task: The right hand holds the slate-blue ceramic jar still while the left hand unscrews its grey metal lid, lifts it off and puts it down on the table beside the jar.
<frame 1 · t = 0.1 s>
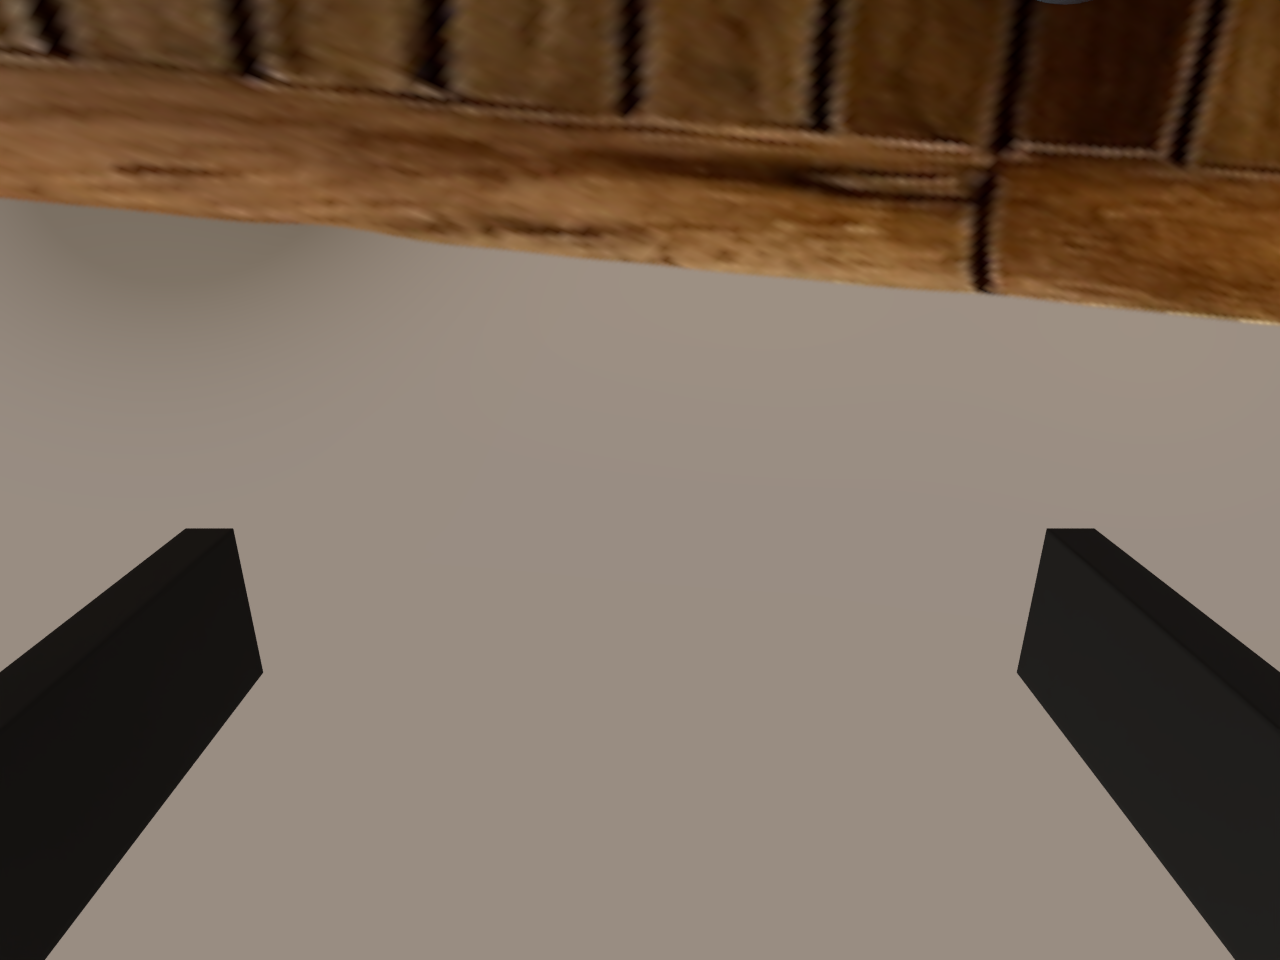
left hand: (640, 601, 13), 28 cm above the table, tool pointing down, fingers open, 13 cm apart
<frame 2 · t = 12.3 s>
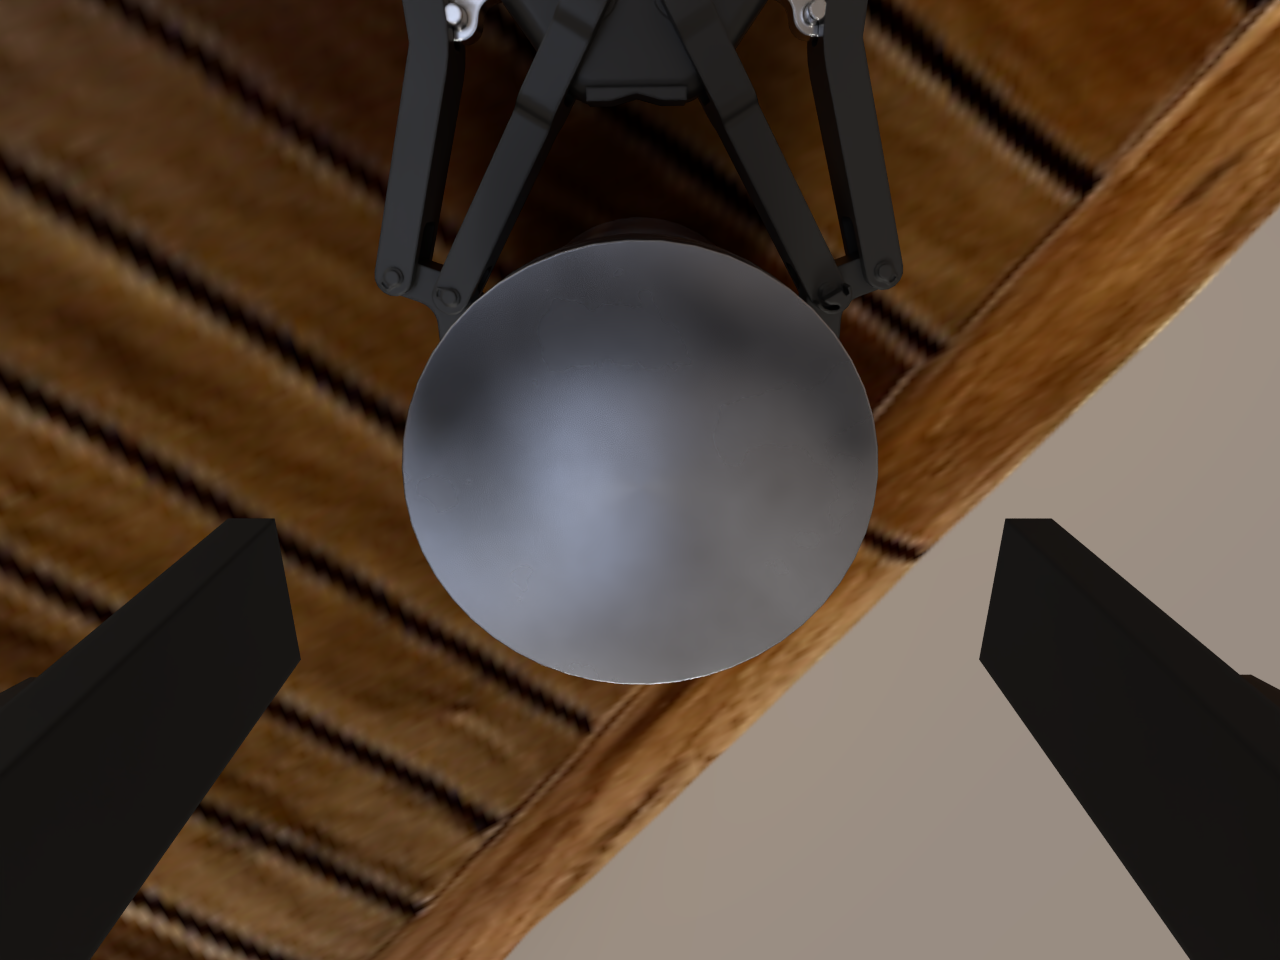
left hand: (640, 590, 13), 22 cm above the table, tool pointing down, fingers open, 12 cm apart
lid: (640, 481, 18), point 17 cm above the table, screwed on, not yet turned
jar: (640, 337, 34), on the table, touching right hand
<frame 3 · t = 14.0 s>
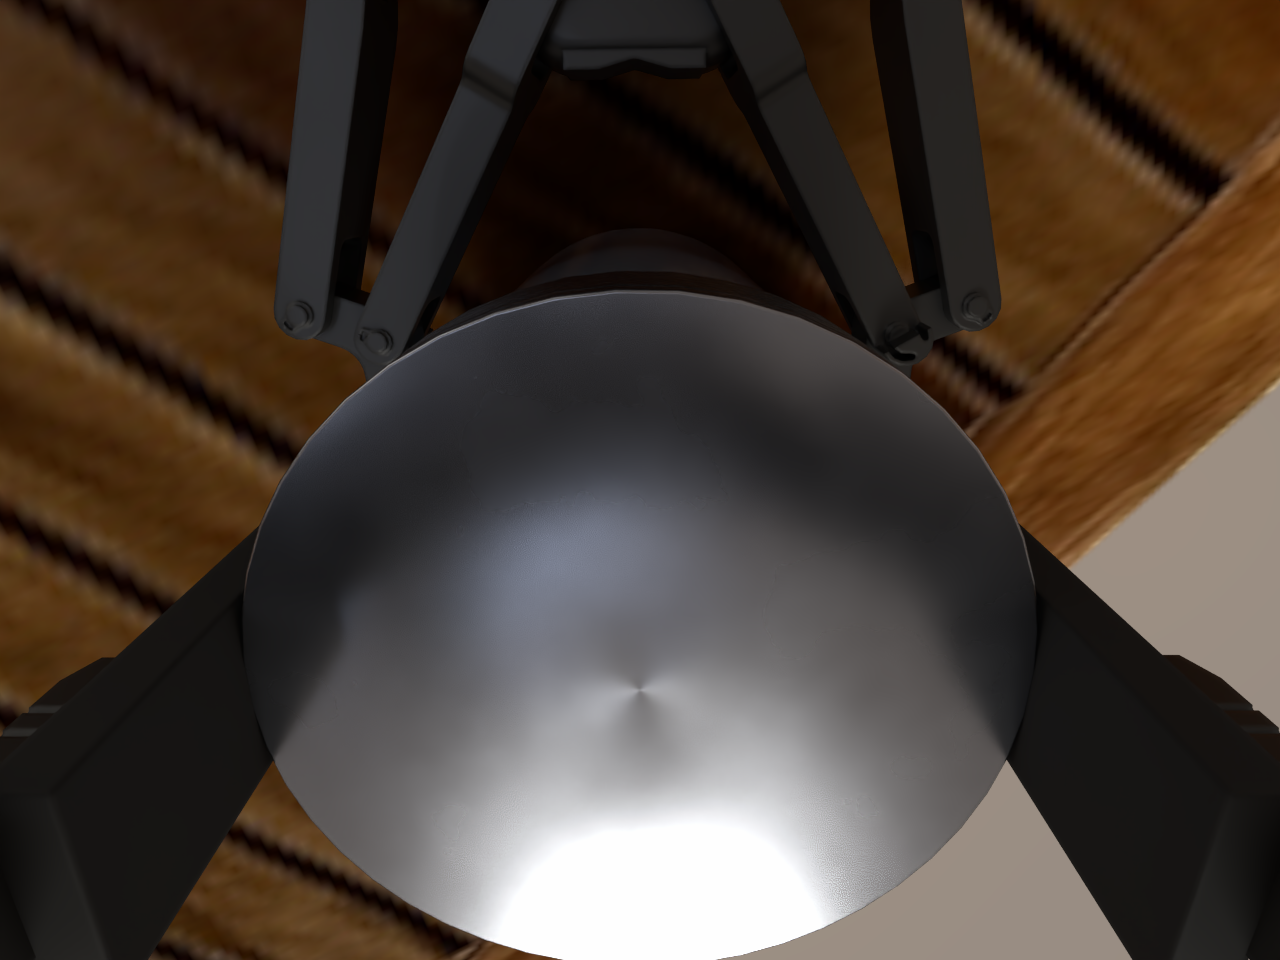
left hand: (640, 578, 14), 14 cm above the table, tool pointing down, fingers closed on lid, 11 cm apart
lid: (639, 675, 11), point 17 cm above the table, screwed on, not yet turned, touching left hand
jar: (639, 378, 27), on the table, touching right hand
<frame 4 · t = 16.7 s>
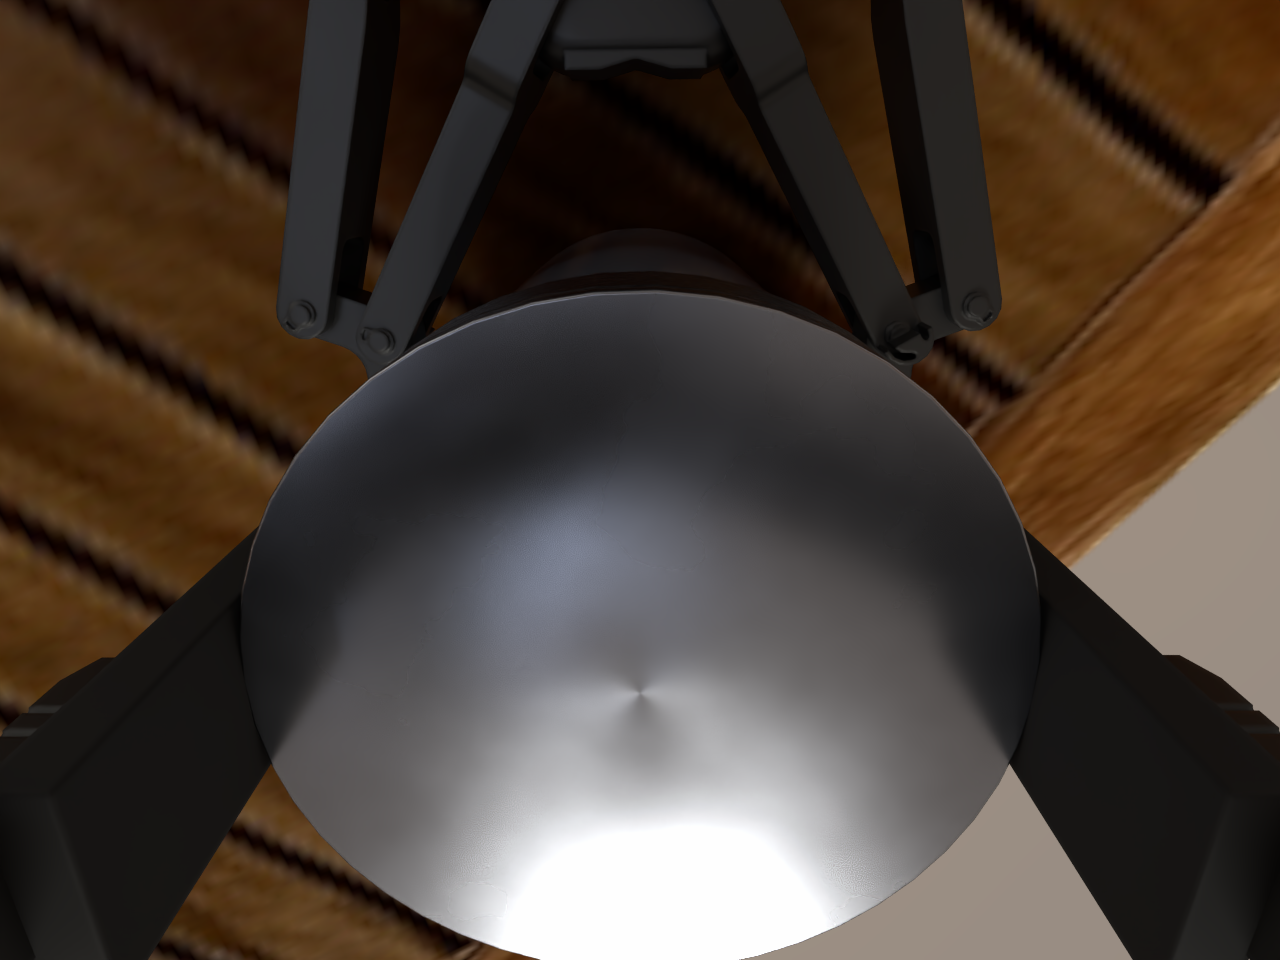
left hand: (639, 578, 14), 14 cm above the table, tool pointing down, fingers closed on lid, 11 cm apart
lid: (640, 677, 11), point 17 cm above the table, turned 55° so far, risen 0.1 cm, still on its thread, touching left hand
jar: (640, 377, 27), on the table, touching right hand
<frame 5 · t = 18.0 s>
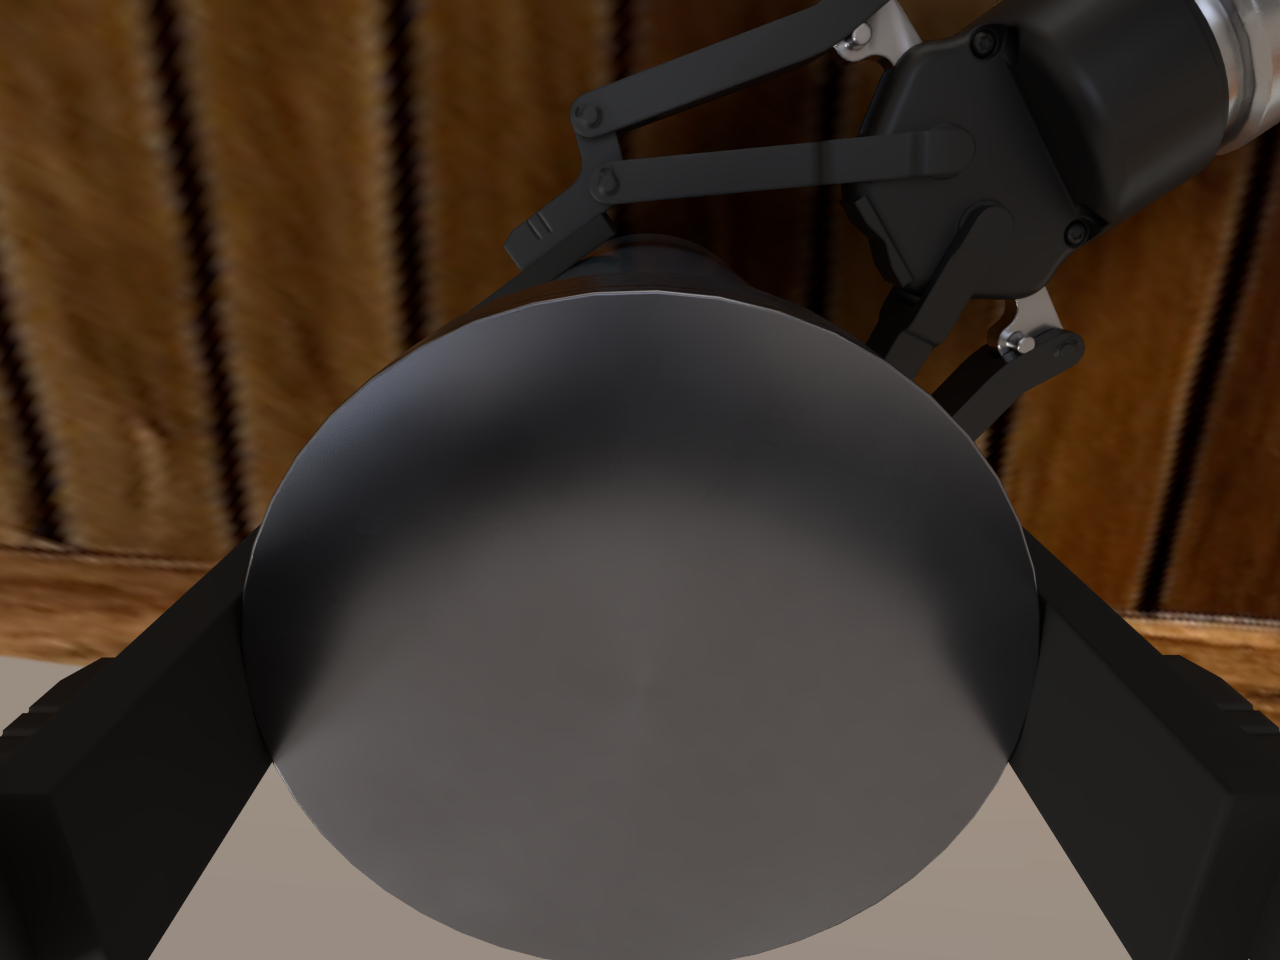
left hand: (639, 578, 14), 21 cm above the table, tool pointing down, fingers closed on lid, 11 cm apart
right hand: (549, 461, 28), fingers closed on jar, 10 cm apart
lid: (640, 676, 11), point 23 cm above the table, off its thread, touching left hand
jar: (647, 356, 33), on the table, touching right hand
when the left hand's fingers open (0 cm above the table, at t = 22.8 s): lid drops 2 cm, point 2 cm above the table.
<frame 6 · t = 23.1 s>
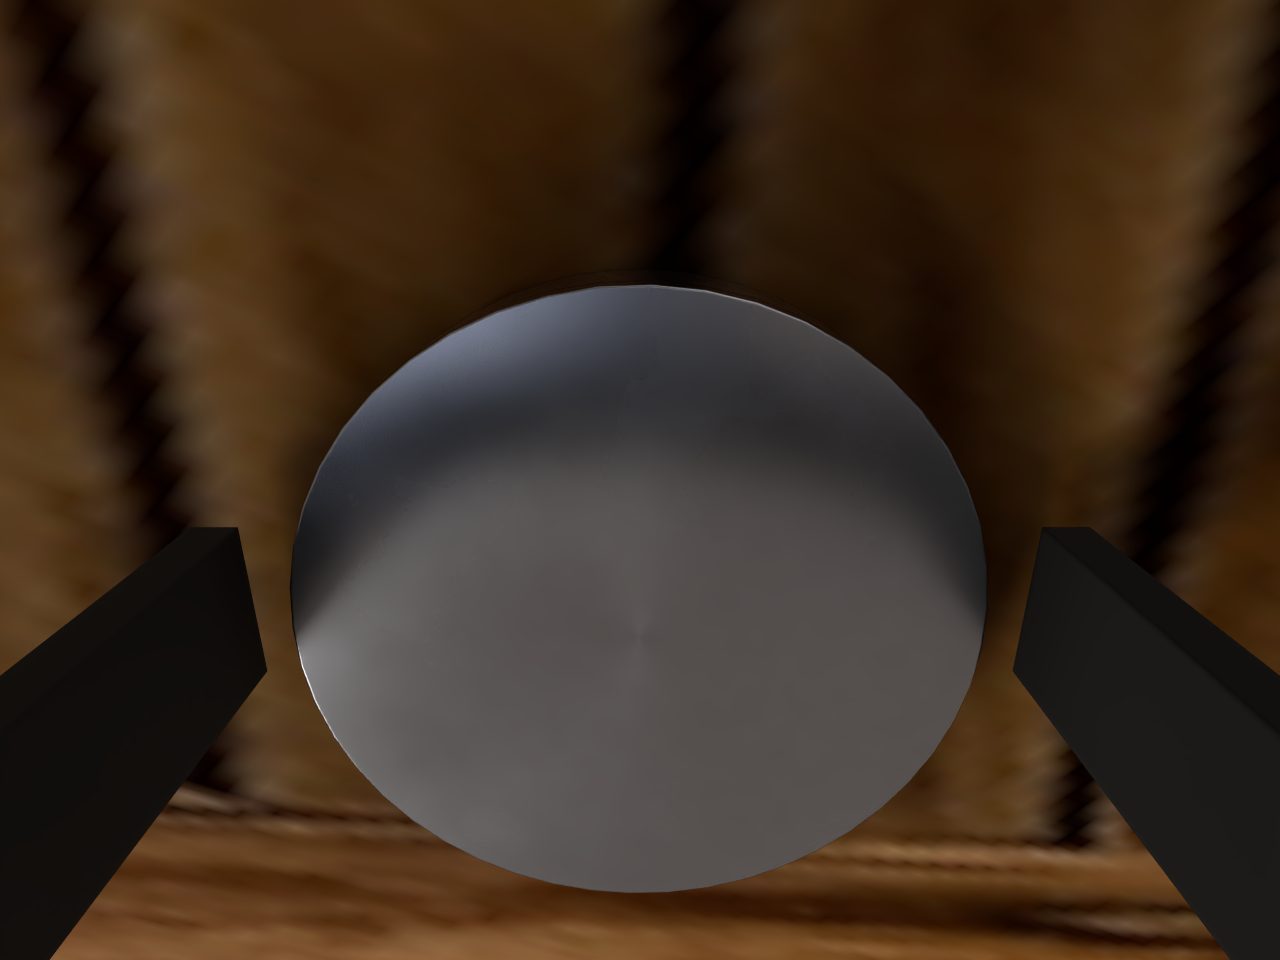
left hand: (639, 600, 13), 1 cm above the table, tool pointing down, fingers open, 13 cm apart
lid: (639, 625, 12), point 2 cm above the table, off its thread
when the right hand's fingers open (7 cm above the table, at t = 23.9 s): jar stays where it is, on the table.
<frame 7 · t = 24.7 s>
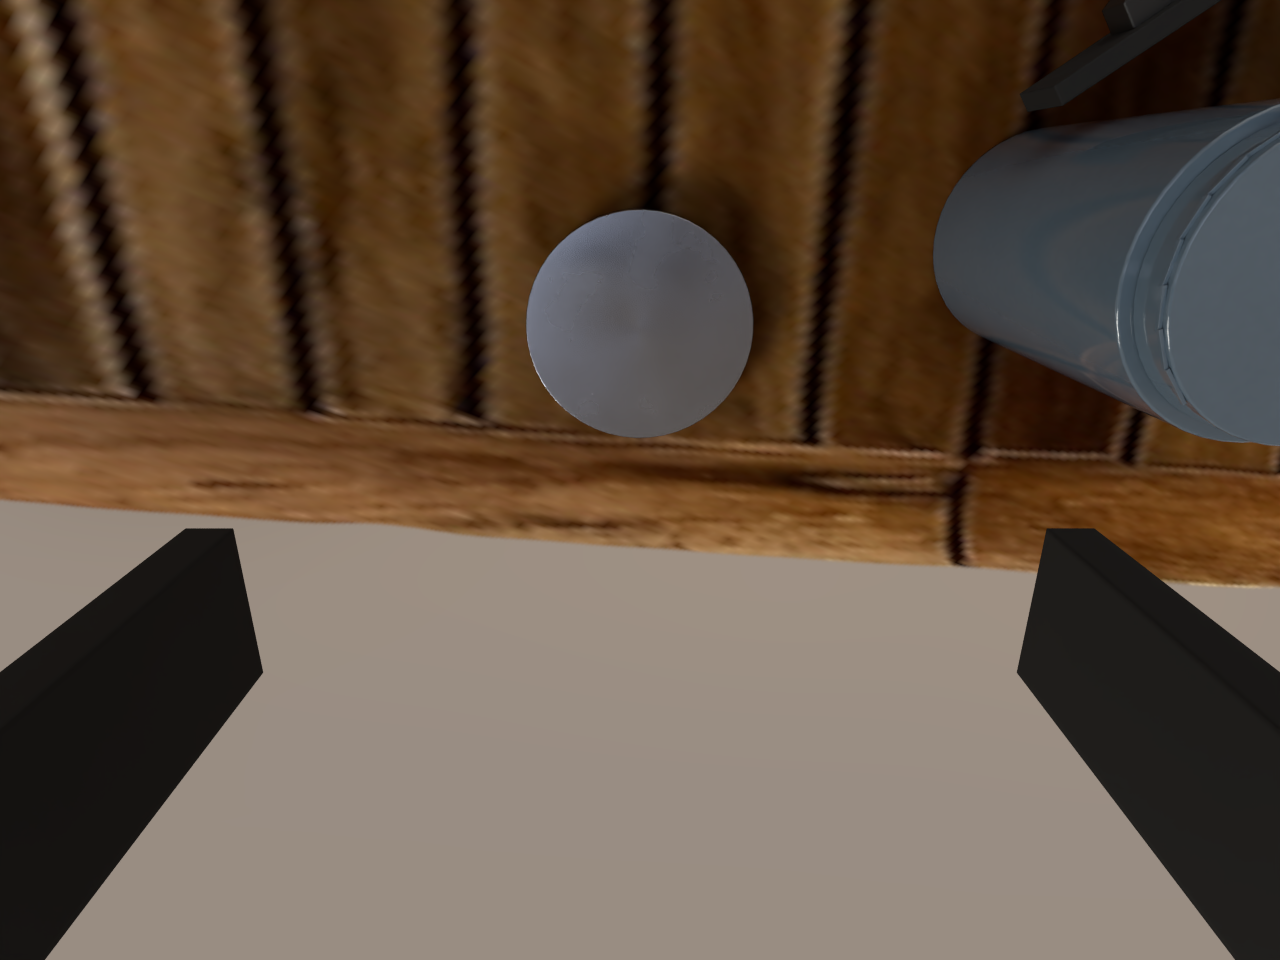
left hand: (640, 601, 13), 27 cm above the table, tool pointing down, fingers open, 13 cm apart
lid: (639, 328, 37), point 2 cm above the table, off its thread
jar: (1037, 241, 37), on the table
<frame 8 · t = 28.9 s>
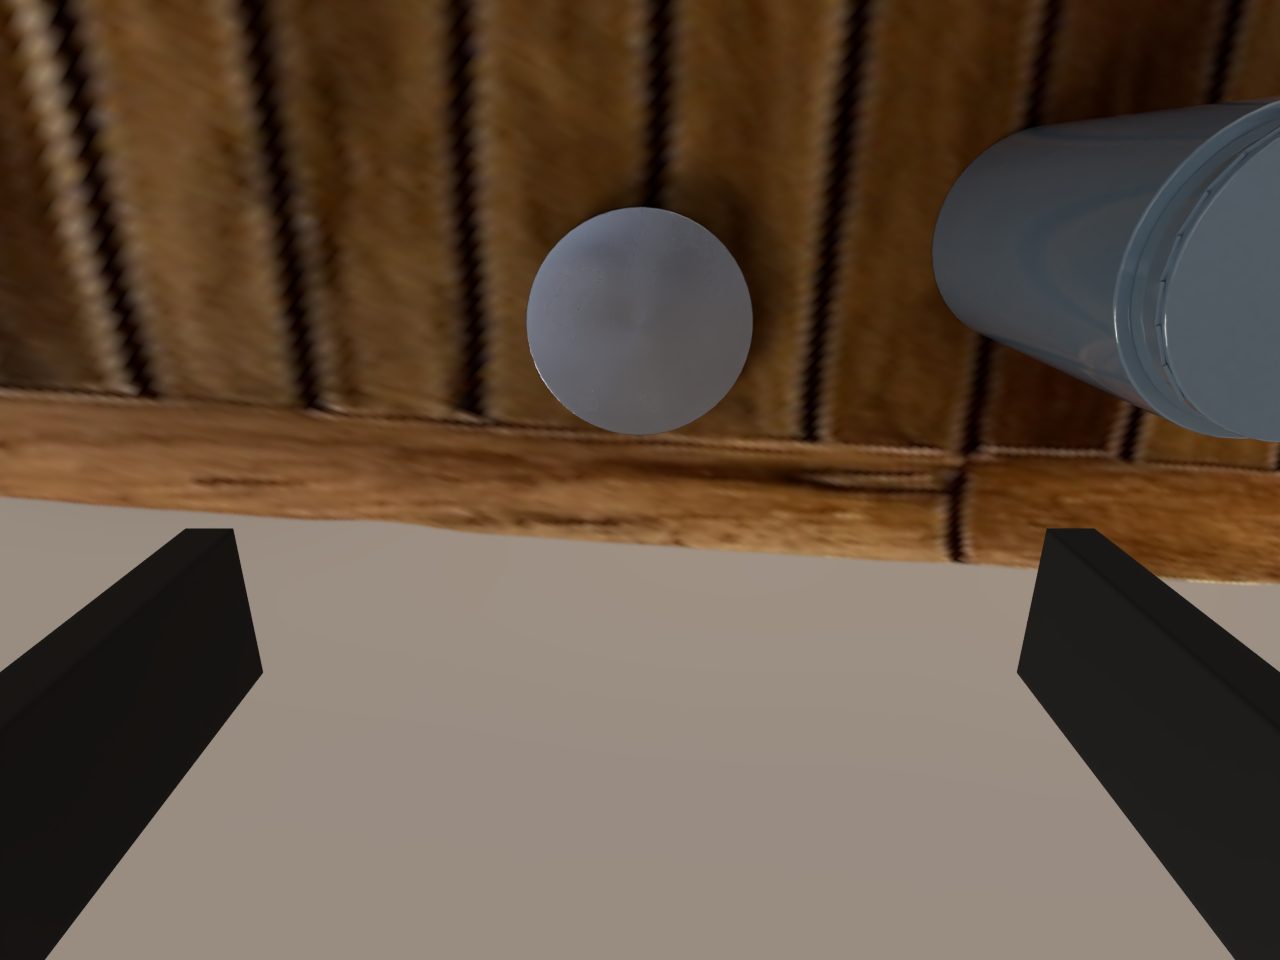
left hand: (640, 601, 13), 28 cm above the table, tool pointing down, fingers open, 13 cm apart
lid: (639, 325, 37), point 2 cm above the table, off its thread
jar: (1036, 238, 37), on the table
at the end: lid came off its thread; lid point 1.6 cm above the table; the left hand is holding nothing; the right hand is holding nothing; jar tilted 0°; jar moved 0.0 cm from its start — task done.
